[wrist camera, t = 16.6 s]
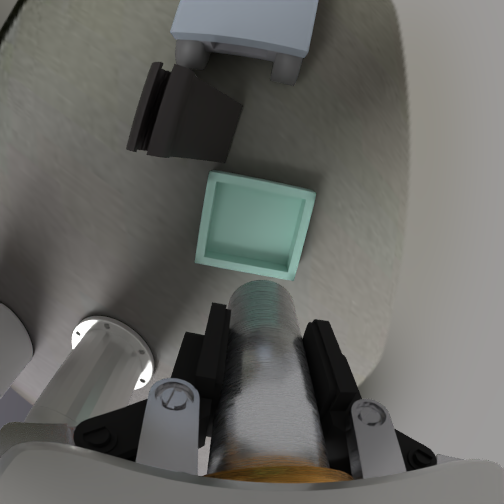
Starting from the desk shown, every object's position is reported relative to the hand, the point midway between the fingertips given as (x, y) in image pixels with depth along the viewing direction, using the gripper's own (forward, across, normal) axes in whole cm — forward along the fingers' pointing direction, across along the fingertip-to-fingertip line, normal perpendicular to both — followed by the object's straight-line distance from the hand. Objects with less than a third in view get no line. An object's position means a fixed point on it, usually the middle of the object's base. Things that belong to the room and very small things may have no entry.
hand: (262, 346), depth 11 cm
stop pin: (+3, 0, 0) cm, 3 cm away
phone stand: (+21, +8, -8) cm, 24 cm away
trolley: (+21, +5, -21) cm, 30 cm away
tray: (+20, 0, 0) cm, 20 cm away
